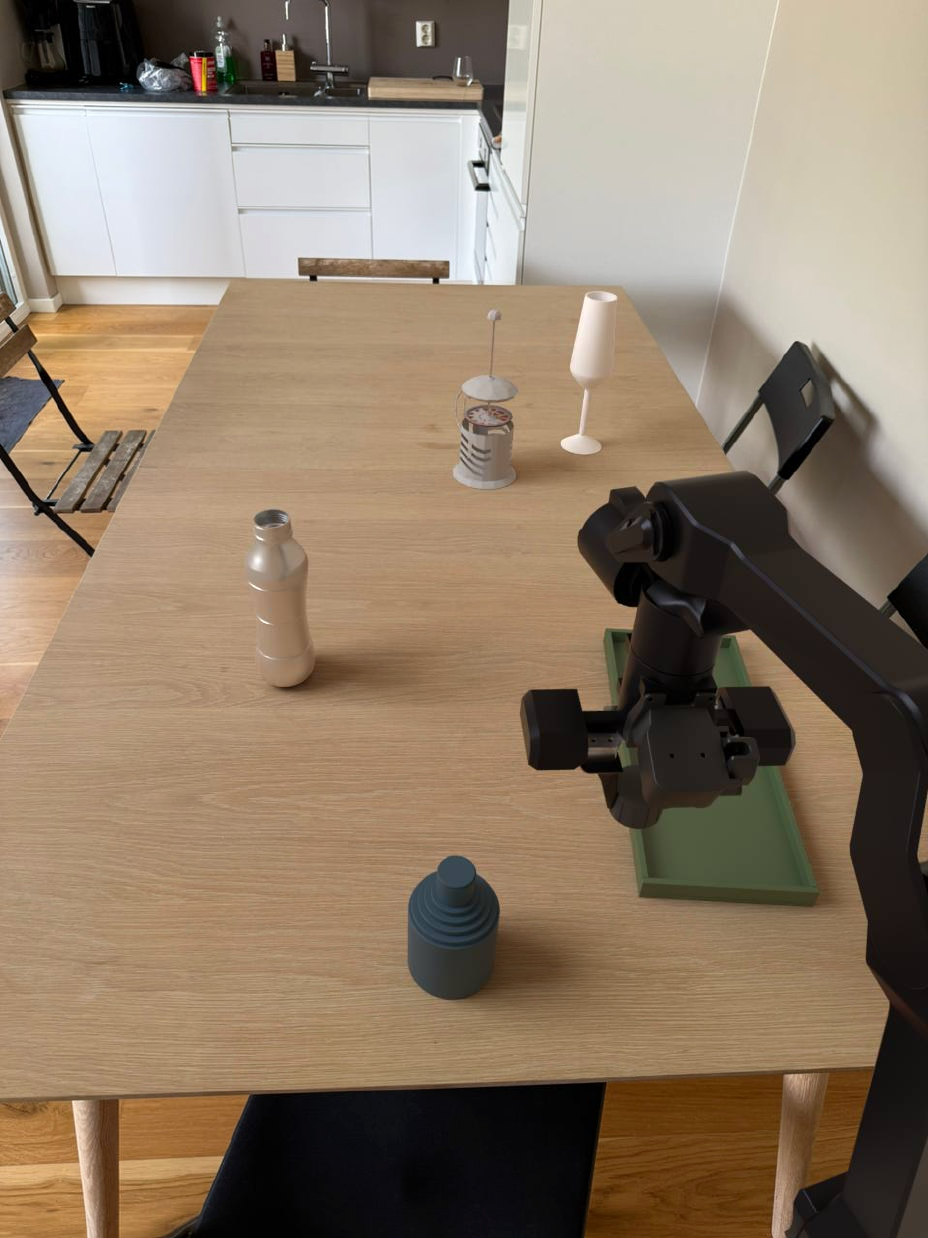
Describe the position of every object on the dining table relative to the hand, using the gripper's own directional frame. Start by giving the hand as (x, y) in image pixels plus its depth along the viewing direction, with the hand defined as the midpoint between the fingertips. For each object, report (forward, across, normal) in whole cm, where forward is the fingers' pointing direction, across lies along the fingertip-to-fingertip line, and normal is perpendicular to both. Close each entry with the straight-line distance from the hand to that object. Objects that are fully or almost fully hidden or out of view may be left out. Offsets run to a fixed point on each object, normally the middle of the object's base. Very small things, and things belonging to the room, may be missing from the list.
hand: (635, 803), depth 69 cm
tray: (+13, +12, +17) cm, 25 cm away
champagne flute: (+13, +12, +86) cm, 88 cm away
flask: (+13, -14, -5) cm, 20 cm away
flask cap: (-2, 0, 0) cm, 2 cm away
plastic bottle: (+13, -30, +30) cm, 45 cm away
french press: (+13, -5, +77) cm, 78 cm away
